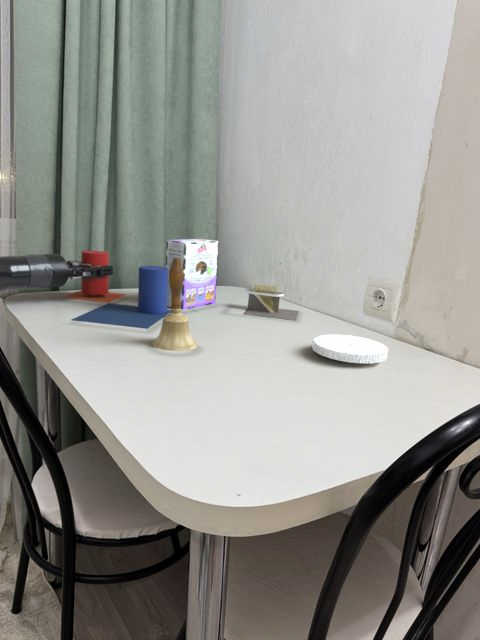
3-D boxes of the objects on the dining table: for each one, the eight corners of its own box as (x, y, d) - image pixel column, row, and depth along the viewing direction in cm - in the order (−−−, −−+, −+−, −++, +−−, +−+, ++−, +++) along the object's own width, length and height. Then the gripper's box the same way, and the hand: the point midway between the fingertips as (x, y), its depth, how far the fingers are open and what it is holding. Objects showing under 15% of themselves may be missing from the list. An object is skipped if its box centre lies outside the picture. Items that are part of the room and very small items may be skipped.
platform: (295, 320, 122) (298, 293, 120) (223, 311, 124) (224, 285, 122) (299, 310, 134) (301, 286, 132) (232, 303, 135) (234, 278, 134)
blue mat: (70, 321, 102) (70, 319, 102) (108, 304, 121) (108, 303, 120) (147, 330, 101) (147, 328, 101) (173, 311, 119) (173, 310, 119)
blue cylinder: (134, 312, 113) (134, 267, 111) (143, 307, 119) (144, 264, 117) (161, 315, 113) (163, 270, 110) (169, 310, 119) (171, 267, 116)
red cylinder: (77, 292, 124) (76, 251, 121) (88, 289, 130) (88, 249, 127) (102, 295, 123) (102, 254, 121) (112, 291, 130) (112, 252, 127)
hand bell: (158, 354, 87) (161, 260, 83) (146, 340, 94) (148, 254, 90) (204, 351, 91) (209, 262, 86) (189, 339, 98) (193, 256, 93)
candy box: (197, 300, 134) (201, 238, 130) (215, 304, 132) (219, 240, 127) (163, 307, 123) (165, 238, 118) (182, 311, 120) (185, 241, 116)
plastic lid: (297, 354, 94) (298, 341, 93) (334, 342, 105) (336, 330, 104) (365, 374, 86) (367, 360, 86) (398, 359, 97) (400, 346, 96)
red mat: (60, 298, 122) (60, 297, 122) (83, 291, 133) (82, 289, 133) (108, 304, 121) (108, 302, 121) (127, 295, 133) (127, 294, 132)
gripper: (24, 282, 119) (85, 278, 132) (60, 293, 111) (121, 287, 124) (23, 250, 117) (85, 249, 130) (59, 258, 109) (122, 256, 122)
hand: (102, 268), depth 127 cm, fingers closed on red cylinder, 6 cm apart
